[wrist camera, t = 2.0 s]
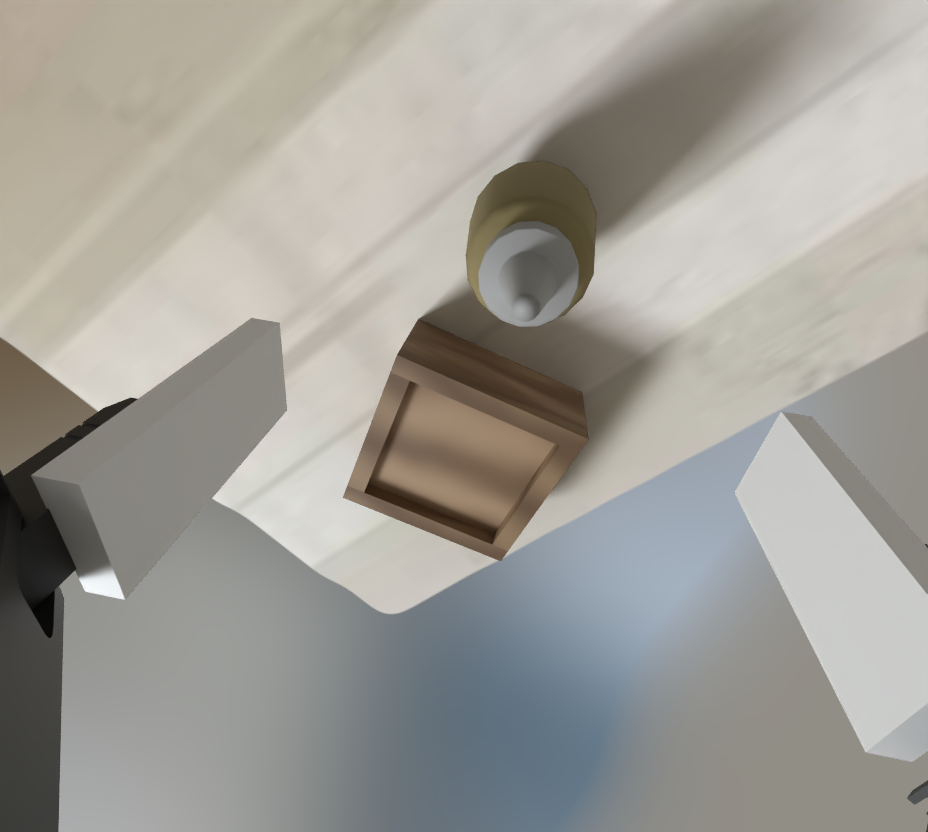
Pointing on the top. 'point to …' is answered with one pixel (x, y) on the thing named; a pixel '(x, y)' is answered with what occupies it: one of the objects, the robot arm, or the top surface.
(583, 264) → the squeeze bottle
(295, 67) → the top surface
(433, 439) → the walnut tray
